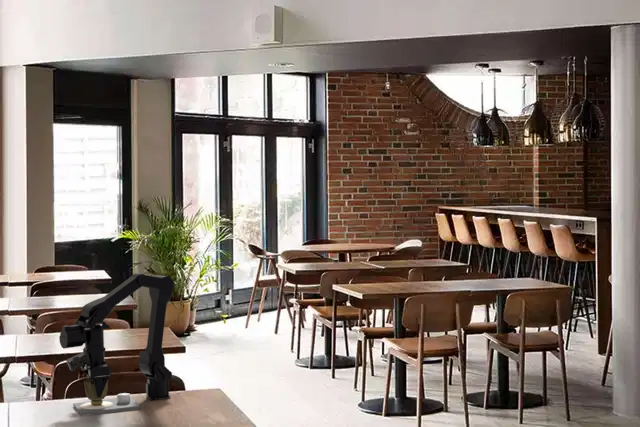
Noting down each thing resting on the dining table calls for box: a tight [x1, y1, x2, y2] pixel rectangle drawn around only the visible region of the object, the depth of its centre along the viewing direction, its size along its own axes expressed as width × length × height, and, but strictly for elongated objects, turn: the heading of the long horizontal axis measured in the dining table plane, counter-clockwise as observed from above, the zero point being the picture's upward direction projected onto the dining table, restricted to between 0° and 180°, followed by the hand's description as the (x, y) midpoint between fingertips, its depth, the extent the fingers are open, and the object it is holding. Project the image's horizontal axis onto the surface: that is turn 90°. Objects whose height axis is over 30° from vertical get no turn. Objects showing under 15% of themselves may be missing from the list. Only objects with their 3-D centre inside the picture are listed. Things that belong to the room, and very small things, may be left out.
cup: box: [83, 377, 109, 406], centre depth 298 cm, size 8×7×8 cm
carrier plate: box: [72, 392, 141, 417], centre depth 300 cm, size 18×14×4 cm
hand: (96, 394), depth 298 cm, fingers open, 9 cm apart
